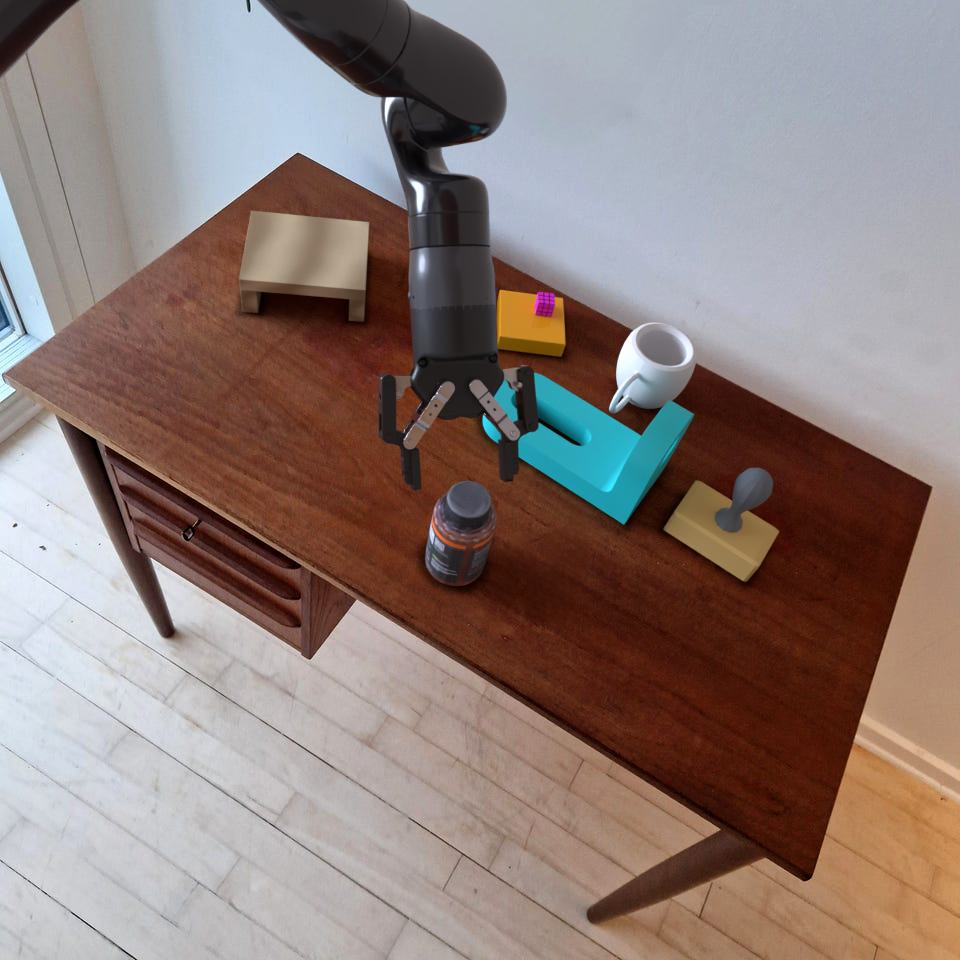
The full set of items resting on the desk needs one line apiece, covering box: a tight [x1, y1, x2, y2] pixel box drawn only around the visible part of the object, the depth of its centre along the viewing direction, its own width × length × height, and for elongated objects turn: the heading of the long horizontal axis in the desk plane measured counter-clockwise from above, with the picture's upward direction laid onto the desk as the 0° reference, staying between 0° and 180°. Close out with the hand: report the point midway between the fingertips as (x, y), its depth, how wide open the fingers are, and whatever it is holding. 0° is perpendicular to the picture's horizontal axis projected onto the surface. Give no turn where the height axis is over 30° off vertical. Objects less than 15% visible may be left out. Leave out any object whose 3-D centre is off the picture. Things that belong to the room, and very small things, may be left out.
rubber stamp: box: [663, 467, 780, 583], centre depth 85 cm, size 10×6×12 cm, turn 55°
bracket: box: [482, 372, 695, 525], centre depth 89 cm, size 20×9×12 cm, turn 55°
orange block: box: [496, 289, 567, 358], centre depth 101 cm, size 8×8×4 cm
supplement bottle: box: [424, 480, 498, 587], centre depth 78 cm, size 6×6×11 cm
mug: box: [608, 321, 698, 415], centre depth 96 cm, size 12×8×8 cm
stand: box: [238, 210, 370, 323], centre depth 100 cm, size 14×12×5 cm
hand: (462, 484), depth 77 cm, fingers open, 8 cm apart
